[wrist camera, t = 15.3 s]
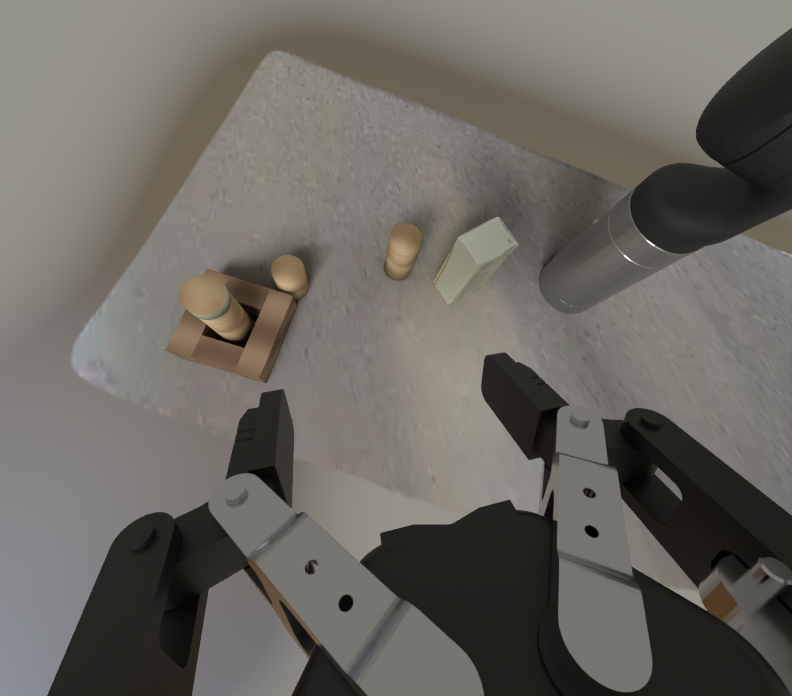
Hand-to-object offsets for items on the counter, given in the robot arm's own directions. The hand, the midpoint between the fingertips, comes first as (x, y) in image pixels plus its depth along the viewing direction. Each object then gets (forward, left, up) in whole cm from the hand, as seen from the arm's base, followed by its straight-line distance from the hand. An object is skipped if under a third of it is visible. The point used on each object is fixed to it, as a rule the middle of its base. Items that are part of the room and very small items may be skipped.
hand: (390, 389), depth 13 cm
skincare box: (-23, +8, -31) cm, 39 cm away
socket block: (-7, -18, -31) cm, 36 cm away
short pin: (-15, -14, -31) cm, 37 cm away
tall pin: (-7, -18, -31) cm, 36 cm away
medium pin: (-23, -1, -31) cm, 38 cm away
